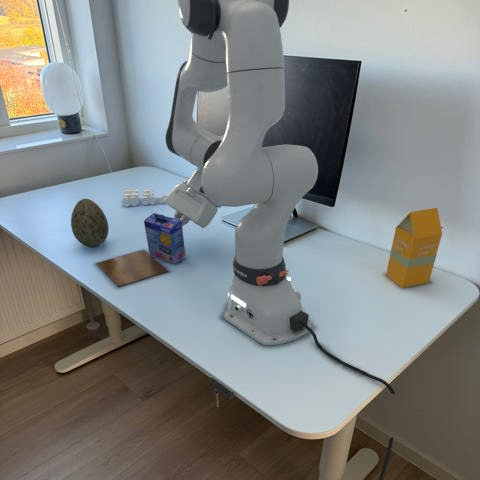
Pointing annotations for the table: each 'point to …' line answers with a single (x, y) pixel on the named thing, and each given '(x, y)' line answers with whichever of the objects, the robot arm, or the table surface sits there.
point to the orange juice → (415, 248)
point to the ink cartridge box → (165, 238)
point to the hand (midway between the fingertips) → (174, 228)
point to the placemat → (131, 268)
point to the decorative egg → (89, 223)
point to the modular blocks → (148, 197)
